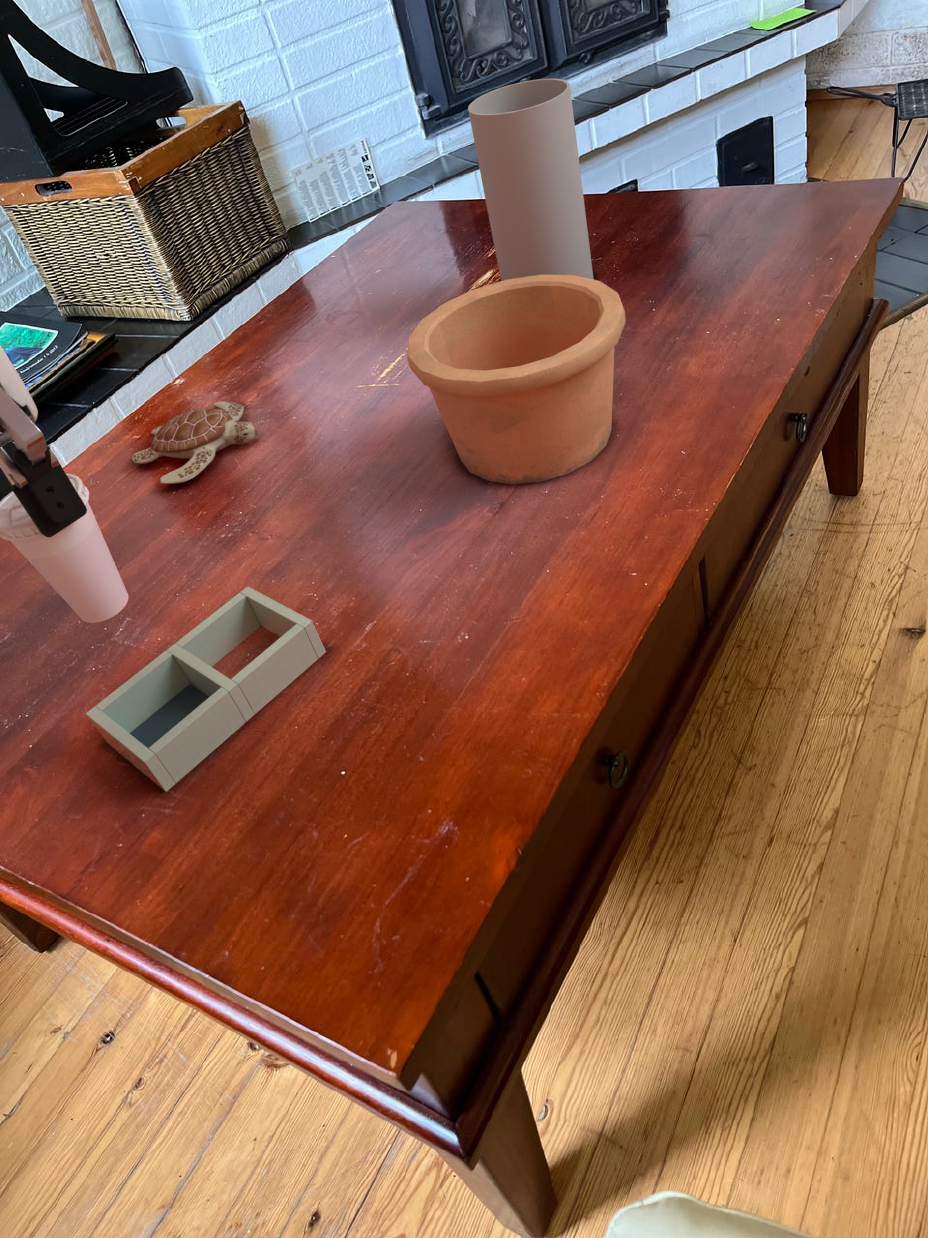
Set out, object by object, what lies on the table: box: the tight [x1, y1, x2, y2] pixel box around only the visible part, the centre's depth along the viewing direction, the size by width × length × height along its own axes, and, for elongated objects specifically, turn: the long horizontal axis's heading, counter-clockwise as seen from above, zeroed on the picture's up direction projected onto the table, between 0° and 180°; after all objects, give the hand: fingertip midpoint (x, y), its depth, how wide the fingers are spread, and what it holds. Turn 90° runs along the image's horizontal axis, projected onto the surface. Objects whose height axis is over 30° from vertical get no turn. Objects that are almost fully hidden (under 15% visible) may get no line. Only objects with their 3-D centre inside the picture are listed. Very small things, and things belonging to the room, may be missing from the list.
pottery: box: [406, 275, 627, 485], centre depth 95 cm, size 22×22×14 cm
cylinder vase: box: [467, 78, 594, 281], centre depth 119 cm, size 12×12×25 cm
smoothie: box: [0, 466, 129, 624], centre depth 63 cm, size 6×6×14 cm
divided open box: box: [85, 586, 327, 793], centre depth 79 cm, size 18×10×5 cm, turn 138°
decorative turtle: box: [131, 401, 258, 485], centre depth 114 cm, size 18×17×5 cm
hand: (40, 507), depth 61 cm, fingers closed on smoothie, 6 cm apart
